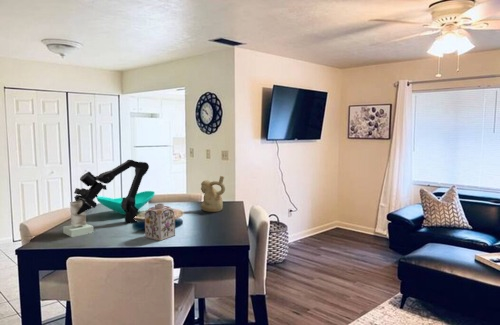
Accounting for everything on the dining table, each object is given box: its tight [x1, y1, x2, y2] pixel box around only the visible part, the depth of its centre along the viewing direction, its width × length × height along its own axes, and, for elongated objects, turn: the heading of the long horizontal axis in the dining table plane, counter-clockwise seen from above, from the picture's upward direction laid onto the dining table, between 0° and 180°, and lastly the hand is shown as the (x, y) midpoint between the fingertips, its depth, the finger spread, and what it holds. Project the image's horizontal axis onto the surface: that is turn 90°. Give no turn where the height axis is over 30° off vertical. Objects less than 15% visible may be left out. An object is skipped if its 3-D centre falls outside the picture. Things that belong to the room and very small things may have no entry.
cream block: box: [69, 200, 87, 227], centre depth 207 cm, size 6×6×13 cm
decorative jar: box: [144, 202, 176, 242], centre depth 199 cm, size 12×12×18 cm
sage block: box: [62, 223, 95, 238], centre depth 208 cm, size 12×12×4 cm
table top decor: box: [96, 190, 156, 215], centre depth 256 cm, size 40×28×13 cm
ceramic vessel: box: [200, 175, 226, 213], centre depth 262 cm, size 17×20×25 cm
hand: (75, 213), depth 207 cm, fingers closed on cream block, 7 cm apart
